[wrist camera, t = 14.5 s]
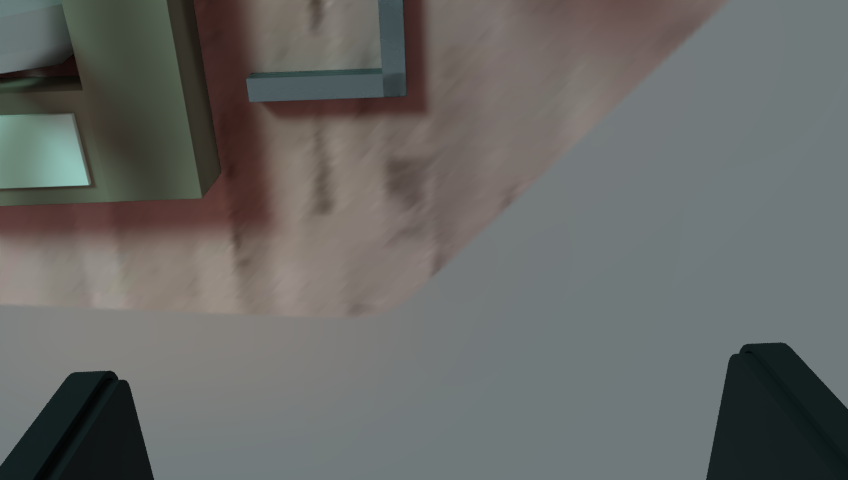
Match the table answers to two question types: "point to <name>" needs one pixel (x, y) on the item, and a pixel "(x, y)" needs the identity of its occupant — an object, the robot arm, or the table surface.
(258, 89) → the u-shaped bracket
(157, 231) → the table surface
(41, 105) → the socket block
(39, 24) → the salt shaker
